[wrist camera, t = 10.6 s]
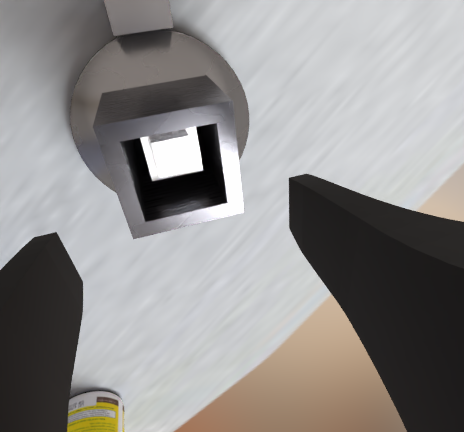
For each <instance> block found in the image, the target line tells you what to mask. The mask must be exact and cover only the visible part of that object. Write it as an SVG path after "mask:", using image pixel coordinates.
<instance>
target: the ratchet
mask: <svg viewBox="0 0 464 432" xmlns="http://www.w3.org/2000/svg"><path fill="white" fill-rule="evenodd" d="M104 3H105V7H106V11H107V14H108V18H109V21H110V25H111V29H112V32H113V36H118V35H123V36H120V37H118V38H116V39H114V40H113V41H111V42H109V43H107V44H106V45H105V46H104V47H103V48H101V49H100V50H99V51H98V52H97V53H96V54H95V55H94V56H93V57H92V58H91V60H90V61H89V62H88V64H87V65H86V67H85V68H84V70H83V71H82V73H81V75H80V77H79V79H78V81H77V83H76V86H75V89H74V92H73V96H72V101H71V109H70V119H71V129H72V134H73V138H74V141H75V144H76V147H77V149H78V151H79V153H80V155H81V158H82V159H83V161H84V162H85V164H86V165H87V167H88V168H89V169H90V171H91V172H92V173H93V174H94V175H95V176H96V177H97V178H98V179H99V180H100V181H101V182H102V183H103V184H104V185H106V186H107V187H109V188H110V189H111V190H113V191H115V192H116V190H115V187H114V184H113V181H112V179H111V176H110V173H109V170H108V168H107V165H106V162H105V159H104V157H103V154H102V151H101V148H100V146H99V143H98V140H97V137H96V134H95V132H94V129H93V124H94V120H95V116H96V113H97V109H98V106H99V102H100V98H101V95H102V93H105V92H111V91H116V90H122V89H128V88H134V87H140V86H145V85H151V84H157V83H163V82H169V81H175V80H180V79H186V78H192V77H198V76H204V75H207V76H208V77H209V78H210V79H211V80H212V81H213V82H214V83H215V84H216V85H217V86H218V87H219V88H220V89H221V90H222V91H223V92H224V93H225V94H226V95H228V96H229V97H230V98H231V99H232V100H233V108H234V118H235V127H236V137H237V147H238V156H239V160H240V158H241V156H242V153H243V151H244V148H245V145H246V141H247V137H248V131H249V110H248V103H247V100H246V96H245V92H244V90H243V88H242V85H241V83H240V81H239V79H238V77H237V76H236V74H235V72H234V71H233V69H232V68H231V67H230V66H229V64H228V63H227V62H226V61H225V60H224V59H223V58H222V57H221V56H220V55H219V54H218V53H217V52H216V51H214V50H213V49H212V48H210V47H209V46H208V45H206V44H204V43H202V42H201V41H199V40H197V39H195V38H193V37H191V36H188V35H186V34H183V33H180V32H176V31H171V30H164V29H166V28H173V22H172V16H171V10H170V5H169V0H104ZM132 142H133V145H134V148H135V152H136V155H137V158H138V162H139V165H140V168H141V172H143V171H148V170H149V171H150V175H151V178H152V181H156V180H161V179H165V178H170V177H175V176H179V175H184V174H188V173H193V172H198V171H202V170H203V166H202V160H201V159H205V158H206V157H205V151H204V145H203V139H202V133H201V127H200V126H198V127H193V128H188V129H183V130H177V131H172V132H167V133H162V134H157V135H152V136H147V137H142V138H137V139H132ZM116 193H117V192H116Z"/></svg>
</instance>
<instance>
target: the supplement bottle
mask: <svg viewBox="0 0 464 432" xmlns="http://www.w3.org/2000/svg"><path fill="white" fill-rule="evenodd" d="M67 432H124V404H123V401H122V400H121V399H120V397H118V396H117V395H115V394H113V393H110V392H104V391H94V392H88V393H83V394H80V395H78V396H75V397H73V398H71V399H70V400H69V408H68V426H67Z"/></svg>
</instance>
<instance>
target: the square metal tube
mask: <svg viewBox="0 0 464 432" xmlns="http://www.w3.org/2000/svg"><path fill="white" fill-rule="evenodd" d="M198 126H200V127H201V133H202V139H203V145H204V151H205V157H206V158H205V159H201V160H202V166H203V170H202V171H198V172H193V173H188V174H184V175H179V176H175V177H170V178H165V179H161V180H156V181H152V178H151V175H150V171H149V170H148V171H143V172H141V168H140V165H139V162H138V158H137V155H136V152H135V148H134V145H133V142H132V139H137V138H142V137H147V136H152V135H157V134H162V133H167V132H172V131H177V130H183V129H188V128H193V127H198ZM93 129H94V132H95V134H96V137H97V140H98V143H99V146H100V148H101V151H102V154H103V157H104V159H105V162H106V165H107V168H108V170H109V173H110V176H111V179H112V181H113V184H114V187H115V190H116V192H117V195H118V198H119V201H120V204H121V206H122V209H123V212H124V215H125V217H126V220H127V223H128V226H129V228H130V231H131V234H132V237H133V239H136V238H140V237H145V236H149V235H153V234H157V233H161V232H165V231H169V230H173V229H178V228H182V227H186V226H190V225H194V224H198V223H202V222H206V221H211V220H215V219H219V218H223V217H227V216H231V215H235V214H240V213H244V205H243V195H242V186H241V176H240V166H239V156H238V147H237V137H236V127H235V118H234V108H233V100H232V99H231V98H230V97H229V96H228V95H226V94H225V93H224V92H223V91H222V90H221V89H220V88H219V87H218V86H217V85H216V84H215V83H214V82H213V81H212V80H211V79H210V78H209V77H208V76H207V75H204V76H198V77H192V78H186V79H180V80H175V81H169V82H163V83H157V84H151V85H145V86H140V87H134V88H128V89H122V90H116V91H111V92H105V93H102V95H101V98H100V102H99V106H98V109H97V113H96V116H95V120H94V124H93Z"/></svg>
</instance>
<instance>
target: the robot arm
mask: <svg viewBox="0 0 464 432" xmlns="http://www.w3.org/2000/svg"><path fill="white" fill-rule="evenodd" d="M289 228H290V230H291V232H292V234H293V236H294V238H295V240H296V242H297V244H298V246H299V248H300V250H301V251H302V253H303V255H304V256H305V257H306V259H307V260H308V262H309V263H310V264H311V266H312V267H313V269H314V270H315V271H316V273H317V274H318V276H319V277H320V278H321V280H322V281H323V282H324V284H325V285H326V287H327V288H328V289H329V291H330V292H331V294H332V295H333V296H334V298H335V299H336V300H337V302H338V303H339V305H340V306H341V308H342V309H343V311H344V312H345V314H346V315H347V317H348V319H349V321H350V322H351V324H352V326H353V328H354V329H355V331H356V333H357V335H358V336H359V338H360V340H361V342H362V344H363V345H364V347H365V349H366V351H367V353H368V355H369V356H370V358H371V360H372V362H373V364H374V366H375V368H376V369H377V371H378V373H379V375H380V377H381V379H382V381H383V383H384V385H385V387H386V389H387V391H388V393H389V395H390V397H391V399H392V401H393V403H394V405H395V407H396V409H397V411H398V413H399V415H400V417H401V419H402V422H403V423H404V426H405V428H406V430H407V432H464V222H461V221H455V220H450V219H445V218H440V217H436V216H432V215H428V214H424V213H420V212H416V211H412V210H409V209H405V208H402V207H398V206H395V205H392V204H389V203H386V202H383V201H380V200H377V199H374V198H371V197H368V196H365V195H363V194H360V193H357V192H355V191H352V190H349V189H347V188H344V187H342V186H339V185H337V184H334V183H332V182H329V181H326V180H324V179H321V178H318V177H316V176H313V175H309V174H304V175H299V176H295V177H291V178H289ZM82 313H83V281H82V279H81V277H80V275H79V274H78V272H77V270H76V268H75V266H74V264H73V262H72V260H71V258H70V257H69V255H68V253H67V251H66V249H65V247H64V245H63V243H62V242H61V240H60V238H59V236H58V234H57V232H55V233H51V234H47V235H42V236H38V237H34V238H33V239H32V240H31V241H29V242H28V243H27V244H26V245H25V246H24V247H23V248H22V249H21V250H20V251H19V252H18V253H17V254H16V255H15V256H14V257H13V258H12V259H11V260H10V261H9V262H8V263H7V264H6V265H5V266H4V267H3V268H2V269H1V270H0V432H67V426H68V408H69V396H70V388H71V381H72V375H73V369H74V363H75V357H76V351H77V345H78V339H79V332H80V326H81V320H82Z"/></svg>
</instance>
